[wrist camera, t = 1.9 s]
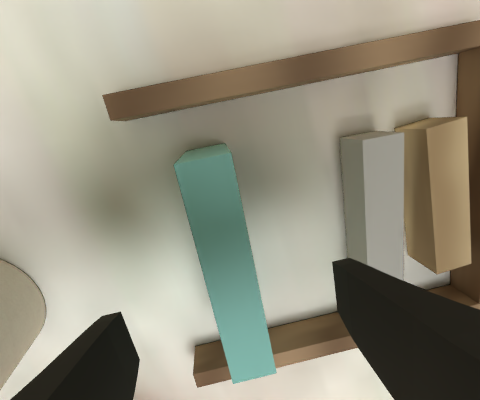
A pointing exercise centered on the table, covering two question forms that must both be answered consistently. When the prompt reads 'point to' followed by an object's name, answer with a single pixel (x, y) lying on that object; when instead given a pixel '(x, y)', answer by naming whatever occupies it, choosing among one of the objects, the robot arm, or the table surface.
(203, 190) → the long teal post
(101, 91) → the table surface
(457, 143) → the plywood offcut
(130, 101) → the frame
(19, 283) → the coffee cup
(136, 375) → the robot arm
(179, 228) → the table surface
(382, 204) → the grey board offcut
